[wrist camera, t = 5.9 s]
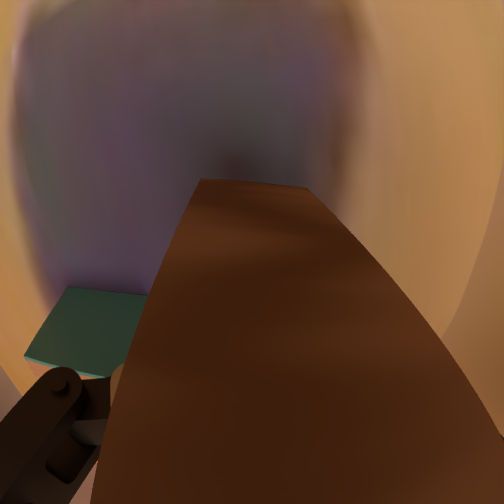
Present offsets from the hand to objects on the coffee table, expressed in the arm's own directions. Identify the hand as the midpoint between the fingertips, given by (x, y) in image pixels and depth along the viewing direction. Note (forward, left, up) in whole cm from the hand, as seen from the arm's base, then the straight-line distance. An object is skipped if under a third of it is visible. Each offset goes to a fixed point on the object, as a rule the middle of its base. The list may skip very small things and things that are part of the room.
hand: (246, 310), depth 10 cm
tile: (+12, +11, -13) cm, 21 cm away
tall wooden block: (0, 0, -2) cm, 2 cm away
